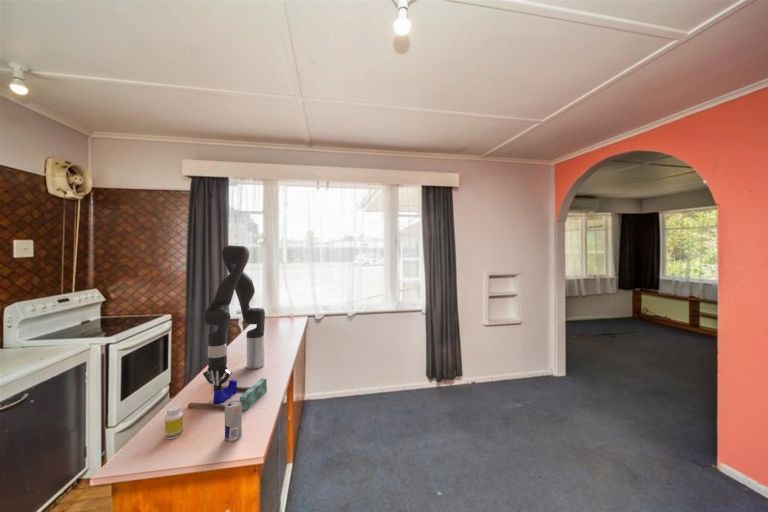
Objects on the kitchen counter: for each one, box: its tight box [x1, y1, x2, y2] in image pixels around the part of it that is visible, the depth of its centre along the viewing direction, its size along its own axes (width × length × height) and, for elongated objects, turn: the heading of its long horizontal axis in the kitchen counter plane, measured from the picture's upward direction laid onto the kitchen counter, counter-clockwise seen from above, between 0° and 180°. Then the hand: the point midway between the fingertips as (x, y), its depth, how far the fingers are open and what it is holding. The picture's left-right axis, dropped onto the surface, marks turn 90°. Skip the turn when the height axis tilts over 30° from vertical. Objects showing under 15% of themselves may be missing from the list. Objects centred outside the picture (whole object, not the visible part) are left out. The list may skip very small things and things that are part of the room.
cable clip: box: [212, 379, 238, 404], centre depth 136 cm, size 12×4×6 cm, turn 174°
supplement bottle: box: [163, 404, 184, 440], centre depth 109 cm, size 5×5×10 cm
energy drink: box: [224, 400, 243, 443], centre depth 108 cm, size 5×5×12 cm
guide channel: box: [187, 378, 268, 412], centre depth 136 cm, size 18×26×6 cm
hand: (217, 392), depth 136 cm, fingers closed
